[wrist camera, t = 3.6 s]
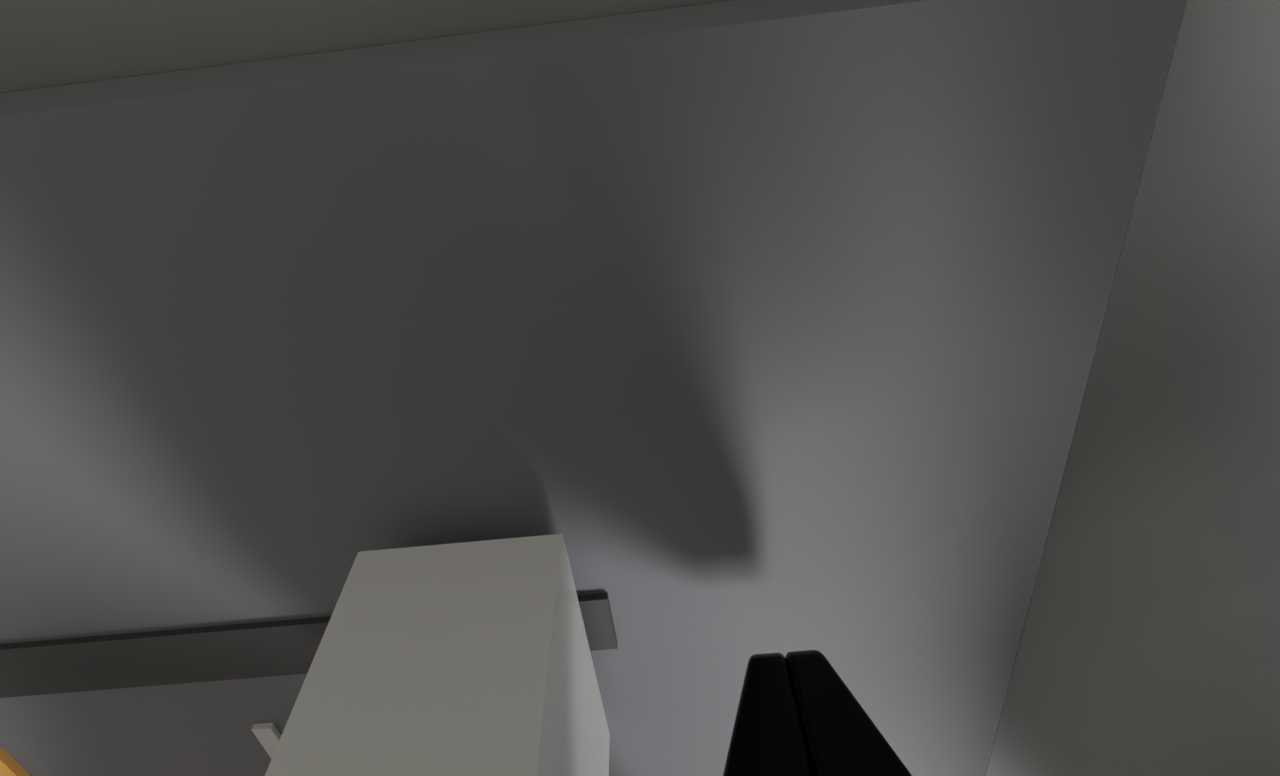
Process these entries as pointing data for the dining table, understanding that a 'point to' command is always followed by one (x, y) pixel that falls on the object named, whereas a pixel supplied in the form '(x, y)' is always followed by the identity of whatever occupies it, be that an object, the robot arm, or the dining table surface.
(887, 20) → the console
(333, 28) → the dining table surface
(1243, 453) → the dining table surface
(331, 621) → the fader
